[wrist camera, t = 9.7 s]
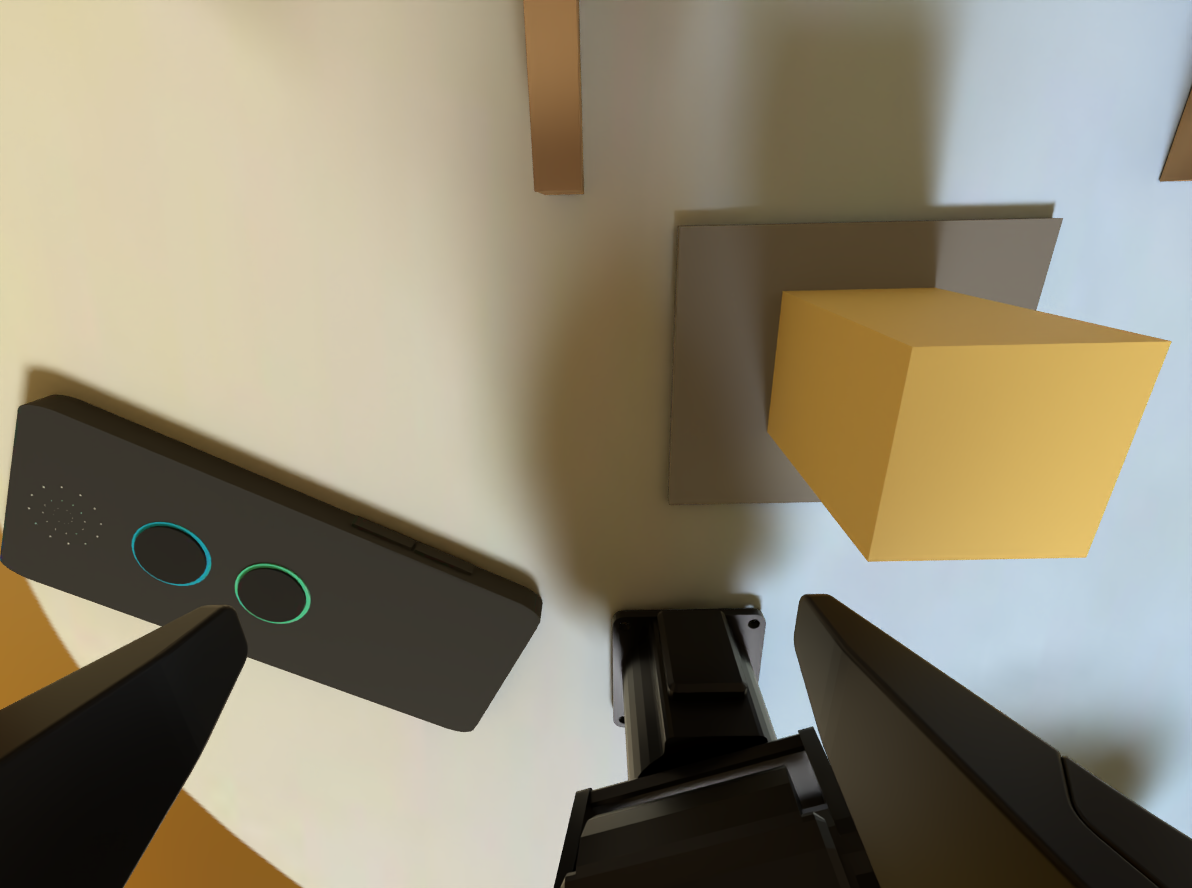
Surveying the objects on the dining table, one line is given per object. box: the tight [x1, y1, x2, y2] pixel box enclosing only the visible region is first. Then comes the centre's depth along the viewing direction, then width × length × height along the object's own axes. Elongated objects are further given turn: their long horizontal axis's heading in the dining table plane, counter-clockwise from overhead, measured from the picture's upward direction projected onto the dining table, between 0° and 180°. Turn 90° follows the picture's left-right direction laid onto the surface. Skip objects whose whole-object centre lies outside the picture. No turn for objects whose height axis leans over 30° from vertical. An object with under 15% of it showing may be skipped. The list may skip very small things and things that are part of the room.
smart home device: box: [0, 395, 543, 732], centre depth 23 cm, size 8×2×20 cm
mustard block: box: [767, 288, 1171, 562], centre depth 15 cm, size 5×5×8 cm
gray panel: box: [668, 218, 1063, 505], centre depth 19 cm, size 10×12×1 cm
